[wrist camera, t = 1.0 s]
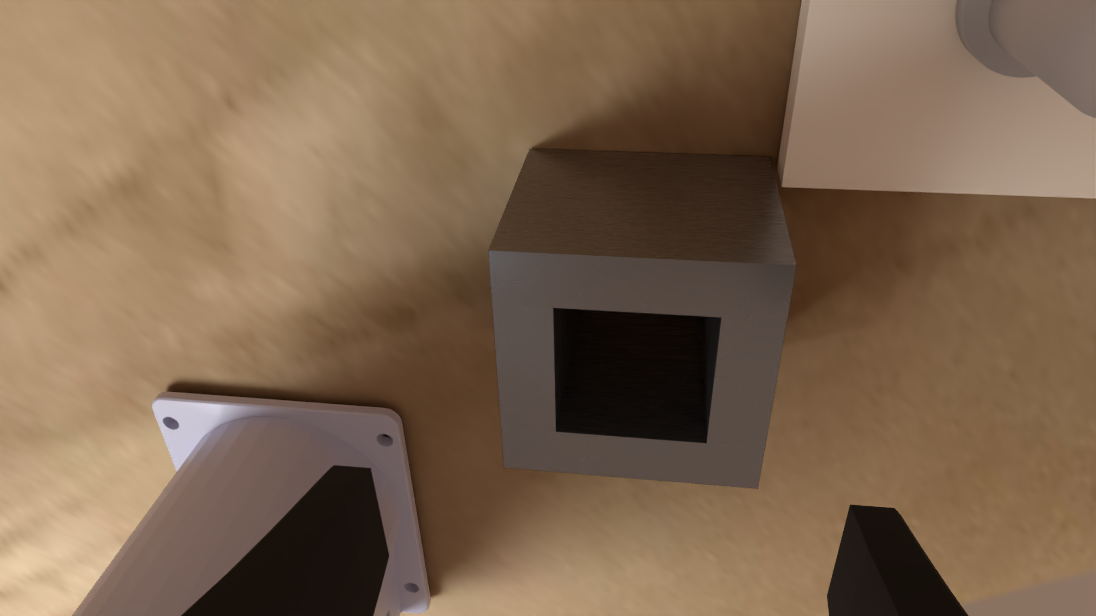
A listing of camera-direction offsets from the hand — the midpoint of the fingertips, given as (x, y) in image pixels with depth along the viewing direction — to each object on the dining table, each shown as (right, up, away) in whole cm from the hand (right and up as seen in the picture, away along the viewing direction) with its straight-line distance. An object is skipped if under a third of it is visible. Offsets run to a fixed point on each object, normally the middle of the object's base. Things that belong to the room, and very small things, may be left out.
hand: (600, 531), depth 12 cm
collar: (+2, +5, +8) cm, 9 cm away
